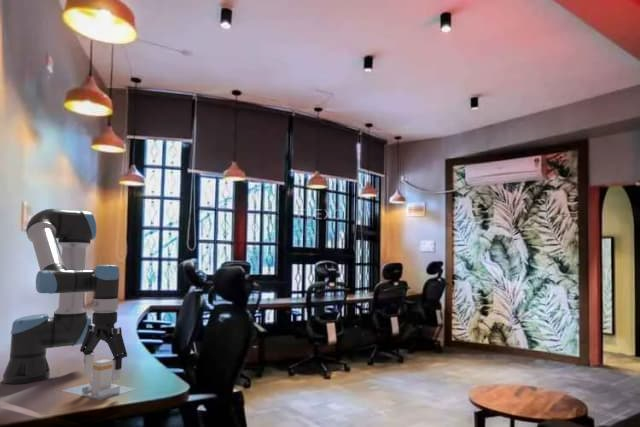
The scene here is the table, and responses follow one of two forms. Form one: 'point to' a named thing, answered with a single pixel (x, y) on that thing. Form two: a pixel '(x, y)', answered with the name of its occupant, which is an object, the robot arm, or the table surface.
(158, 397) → the table surface
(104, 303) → the robot arm
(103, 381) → the white bottle
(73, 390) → the board
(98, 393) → the end holder
